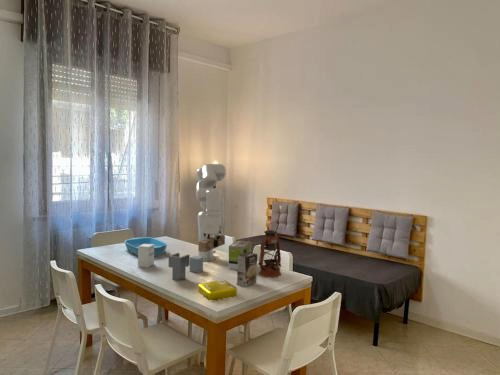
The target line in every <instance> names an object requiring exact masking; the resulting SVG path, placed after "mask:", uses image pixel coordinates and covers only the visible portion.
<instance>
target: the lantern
mask: <svg viewBox="0 0 500 375" xmlns="http://www.w3.org/2000/svg"><path fill="white" fill-rule="evenodd" d="M270 225H273V223H272V222H270V223H269V224H268V227H267V230H264V231H263V233H264V234H265V235H264V238H263V240H262V242H261V244H260V253H259V254H260V255H259V258H258V262H257V266H259V268H260V271H259V273H258V275H259V276H260V277H263V278H267V277H271V278H270V279H274V278H275V277H276V278H280V277H282V273H281V268H282V264H281V262H282V260H281V259H282V257H281V249H280V248H281V247H280V246H281V245H280V238H279V237H278V236H277V231H275V230H274V229H271V230H270V229H269V226H270ZM265 250H266V251H265ZM270 252H273V254H272V253H270ZM265 255H267V257H269V259H265ZM268 255H270V256H271V257H270V256H268ZM279 276H280V277H279Z"/></svg>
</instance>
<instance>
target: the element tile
mask: <svg viewBox="0 0 500 375" xmlns="http://www.w3.org/2000/svg"><path fill="white" fill-rule="evenodd" d="M237 291H238V290H237V287H236V286H235V285H233V284H232V283H230V282H228V281H227V280H225V279H220V280H214V281H208V282H202V283H201V282H200V283H199V284H198V293H199V294H200V295H201V294H202V295H203V297H204V298H205V297H206V298H207V299H208V300H207V299H206V298H205V299H206V300H207V301H209V300H216V301H219V300H218V299H221V300H224V299H223V298H226V299H230V298H229V297H231V298H235V297H237V296H236V295H237V293H238V292H237ZM202 295H201V296H202ZM234 296H235V297H234Z"/></svg>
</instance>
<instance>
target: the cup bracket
mask: <svg viewBox="0 0 500 375" xmlns="http://www.w3.org/2000/svg"><path fill="white" fill-rule="evenodd" d="M180 255H181V254H180V253H179V252H176V253H173V254H170V255H169V256H168V268H172V270H171V271H172V277H171V278H172V280H174V281H182V280H184V279H186V267H190V256H191V255H190V254H185V255H183V256H180Z"/></svg>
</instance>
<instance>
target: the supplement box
mask: <svg viewBox="0 0 500 375" xmlns="http://www.w3.org/2000/svg"><path fill="white" fill-rule="evenodd" d="M153 265H155V256H154V244H142V245H140V246H138V255H137V267H139V268H150V267H152V266H153Z"/></svg>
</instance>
